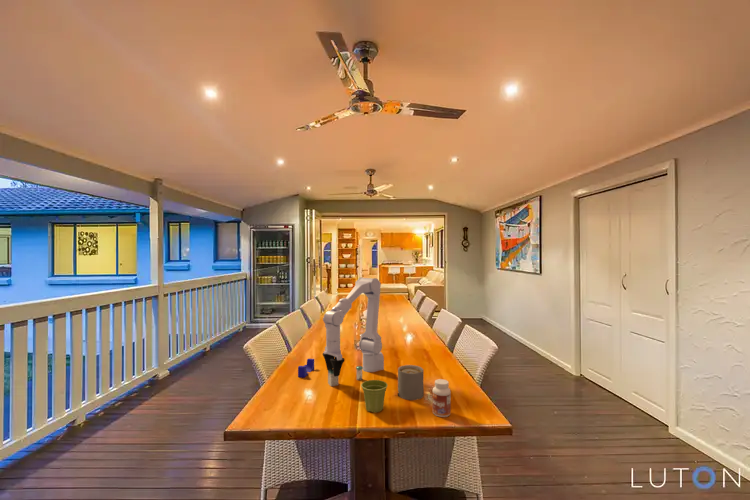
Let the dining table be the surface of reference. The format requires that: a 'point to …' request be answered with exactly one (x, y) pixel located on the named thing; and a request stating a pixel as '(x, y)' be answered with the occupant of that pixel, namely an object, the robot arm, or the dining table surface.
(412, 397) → the coffee mug
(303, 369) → the cable clip
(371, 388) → the plant pot
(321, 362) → the dining table surface
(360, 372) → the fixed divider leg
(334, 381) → the leg
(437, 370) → the dining table surface
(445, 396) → the pill bottle
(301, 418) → the dining table surface
